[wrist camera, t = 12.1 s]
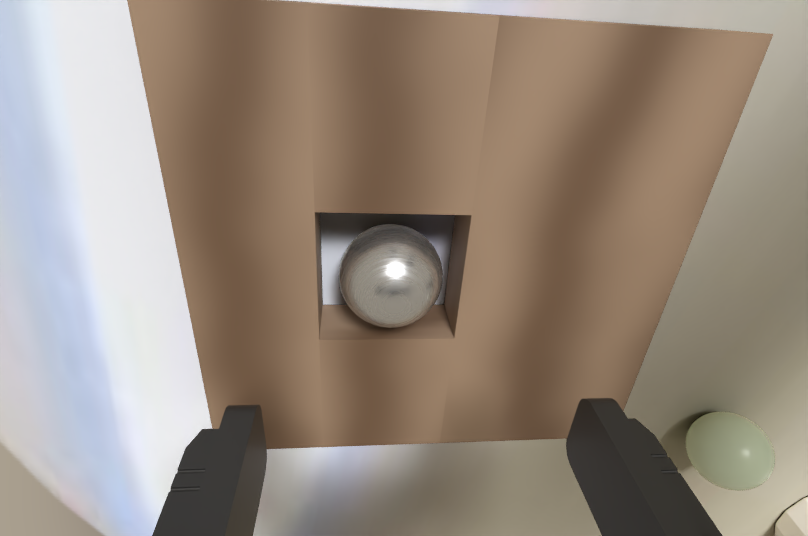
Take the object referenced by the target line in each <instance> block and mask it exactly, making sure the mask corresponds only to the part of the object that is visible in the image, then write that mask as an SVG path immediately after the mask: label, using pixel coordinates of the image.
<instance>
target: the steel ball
mask: <svg viewBox="0 0 808 536" xmlns="http://www.w3.org/2000/svg"><path fill="white" fill-rule="evenodd" d="M442 276H443V273H442V266H441V262H440V258H439V256H438V254H437V252H436V250H435V248H434V247H433V245H432V244H431V243H430V242H429V241H428V239H427V238H426V237H424V236H423V235H422V234H421V233H419V232H417V231H416V230H414V229H412V228H409V227H406V226H403V225H398V224H384V225H378V226H375V227H372V228H370V229H367V230H366V231H364V232H362V233H361V234H360V235H358V236H357V237H356V238H355V239H354V240H353V241H352V242H351V243H350V244H349V246H348V247H347V249H346V251H345V252H344V254H343V257H342V259H341V263H340V268H339V285H340V289H341V292H342V295H343V297H344V300H345V301H346V303H347V305H348V306H349V307H350V309H351V310H352V311H353V312H354V313H355V314H356V315H357V316H358V317H360V318H361V319H363V320H364V321H366V322H368V323H370V324H373V325H376V326H379V327H385V328H396V327H402V326H406V325H409V324H411V323H413V322H415V321H417V320H419V319H420V318H422V317H423V316H424V315H425V314H426V313H427V312H428V311H429V310H430V309H431V308H432V306H433V305H434V304H435V302H436V300H437V298H438V296H439V293H440V290H441V286H442Z"/></svg>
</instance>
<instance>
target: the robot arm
mask: <svg viewBox="0 0 808 536" xmlns="http://www.w3.org/2000/svg"><path fill="white" fill-rule="evenodd" d="M566 449H567V456H568V460H569V463H570V465H571V468H572V470H573V472H574V474H575V477H576V479H577V481H578V483H579V485H580V488H581V490H582V492H583V494H584V496H585V499H586V501H587V503H588V505H589V508H590V510H591V512H592V514H593V516H594V519H595V521H596V523H597V525H598V527H599V530H600V532H601V534H602V536H722V534H721V533H720V532H719V530H718V529H717V527H716V526H715V524H714V523H713V521H712V520H711V518H710V517H709V515H708V514H707V512H706V511H705V509H704V508H703V507H702V505H701V504H700V502H699V501H698V499H697V498H696V496H695V495H694V493H693V492H692V490H691V489H690V487H689V486H688V484H687V483H686V481H685V480H684V478H683V477H682V475H681V474H680V473H678V472H677V468H676V466H675V465H674V464H673V462H672V461H671V459H670V458H668V457H667V453H666V452H665V450H664V449H663V447H662V446H661V444H660V443H659V441H658V440H657V438H656V437H655V435H654V434H653V433H651V432H650V431H649V430H648V429H647V428H646V427H644V426H643V425H642V424H641V423H640V422H639V421H637V420H636V419H628V418H627V417H626V415H625V414H624V412H623V410H622V409H621V407H620V406H619V404H618V403H617V402H616V401H615V400H614V399H613V398H585V399H581V400H580V402H579V404H578V407H577V410H576V413H575V416H574V419H573V422H572V425H571V428H570V431H569V434H568V437H567V442H566ZM266 459H267V449H266V440H265V432H264V425H263V417H262V410H261V406H260V405H228V406H227V407H226V409H225V411H224V414H223V417H222V420H221V424H220V427H219V429H202V430H201V431H200V432H199V434H198V435H197V436H196V437H195V438H194V439H193V440H192V442H191V443H190V444H189V445H188V446H187V447H186V449H185V452H184V454H183V457H182V459H181V462H180V465H179V467H178V472H177V474H176V475H175V478H174V480H173V483H172V486H171V491H170V492H169V493H168V496H167V499H166V501H165V504H164V506H163V509H162V512H161V514H160V517H159V519H158V522H157V525H156V527H155V530H154V533H153V535H152V536H253V532H254V527H255V522H256V517H257V512H258V506H259V501H260V496H261V491H262V486H263V481H264V476H265V470H266Z"/></svg>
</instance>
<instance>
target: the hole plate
mask: <svg viewBox="0 0 808 536" xmlns="http://www.w3.org/2000/svg"><path fill="white" fill-rule="evenodd" d="M127 1H128V6H129V11H130V16H131V21H132V26H133V31H134V36H135V42H136V47H137V52H138V57H139V62H140V67H141V72H142V77H143V82H144V87H145V92H146V97H147V102H148V107H149V112H150V117H151V122H152V127H153V132H154V137H155V142H156V147H157V152H158V157H159V162H160V167H161V172H162V177H163V182H164V187H165V192H166V197H167V202H168V207H169V212H170V217H171V222H172V227H173V232H174V237H175V242H176V247H177V252H178V258H179V263H180V268H181V273H182V278H183V283H184V288H185V293H186V298H187V303H188V308H189V313H190V318H191V323H192V328H193V333H194V338H195V343H196V348H197V353H198V358H199V363H200V368H201V373H202V378H203V383H204V388H205V393H206V398H207V403H208V408H209V413H210V418H211V423H212V428H213V429H219V427H220V424H221V420H222V417H223V414H224V411H225V409H226V407H227V406H228V405H260V406H261V410H262V417H263V425H264V432H265V440H266V449H281V448H309V447H337V446H365V445H393V444H421V443H449V442H477V441H505V440H533V439H561V438H567V437H568V434H569V431H570V428H571V425H572V422H573V419H574V416H575V413H576V410H577V407H578V404H579V402H580V400H581V399H585V398H613V399H614V400H615V401H616V402H617V403H618V404H619V406H620V407H621V409H622V410H624V408H625V405H626V403H627V400H628V398H629V395H630V393H631V390H632V388H633V385H634V383H635V380H636V378H637V375H638V373H639V370H640V368H641V365H642V362H643V360H644V357H645V355H646V352H647V350H648V347H649V345H650V342H651V340H652V337H653V335H654V332H655V330H656V327H657V325H658V322H659V320H660V317H661V315H662V312H663V310H664V307H665V305H666V302H667V300H668V297H669V295H670V292H671V290H672V287H673V285H674V282H675V280H676V277H677V275H678V272H679V270H680V267H681V265H682V262H683V260H684V257H685V255H686V252H687V250H688V247H689V245H690V242H691V240H692V237H693V234H694V232H695V229H696V227H697V224H698V222H699V219H700V217H701V214H702V212H703V209H704V207H705V204H706V202H707V199H708V197H709V194H710V192H711V189H712V187H713V184H714V182H715V179H716V177H717V174H718V172H719V169H720V167H721V164H722V162H723V159H724V157H725V154H726V152H727V149H728V147H729V144H730V142H731V139H732V137H733V134H734V132H735V129H736V127H737V124H738V122H739V119H740V117H741V114H742V111H743V109H744V106H745V104H746V101H747V99H748V96H749V94H750V91H751V89H752V86H753V84H754V81H755V79H756V76H757V74H758V71H759V69H760V66H761V64H762V61H763V59H764V56H765V54H766V51H767V49H768V46H769V44H770V41H771V39H772V36H773V34H765V33H753V32H740V31H728V30H715V29H700V28H685V27H670V26H655V25H640V24H625V23H610V22H595V21H581V20H566V19H551V18H536V17H521V16H506V15H491V14H476V13H461V12H446V11H431V10H416V9H401V8H386V7H371V6H356V5H341V4H326V3H311V2H296V1H281V0H127ZM320 212H326V213H380V214H434V215H455V220H454V229H453V237H452V245H451V253H450V261H449V270H448V278H447V286H446V294H445V303H444V305H433V306H432V308H431V309H430V310H429V311H428V312H427V313H426V314H425V315H424V316H423V317H422V318H420V319H419V320H417V321H415V322H413V323H411V324H409V325H406V326H402V327H396V328H385V327H379V326H376V325H373V324H370V323H368V322H366V321H364V320H363V319H361V318H360V317H358V316H357V315H356V314H355V313H354V312H353V311H352V310H351V309H350V307H349V306H348V305H323V298H322V265H321V232H320Z"/></svg>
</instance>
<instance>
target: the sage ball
mask: <svg viewBox="0 0 808 536" xmlns="http://www.w3.org/2000/svg"><path fill="white" fill-rule="evenodd" d="M686 451H687V455H688V457H689V459H690V462H691V463H692V465H693V466H694V468H695V469H696V470H697V471H698V472H699V473H700V474H701V475H702V476H703V477H704V478H705V479H707V480H708V481H710V482H711V483H713V484H715V485H717V486H719V487H722V488H725V489H729V490H749V489H752V488H755V487H758V486H759V485H761V484H762V483H764V482H765V481H766V480H767V479H768V478H769V476H770V475H771V473H772V471H773V468H774V464H775V454H774V450H773V446H772V444H771V442H770V440H769V438H768V437H767V435H766V434H765V433H764V432H763V430H762V429H761V428H760V427H759V426H757V425H756V424H755V423H753V422H752V421H751V420H749V419H747V418H745V417H743V416H741V415H738V414H734V413H730V412H712V413H708V414H706V415H703V416H701V417H700V418H698V419H697V420H696V421H695V422H694V423H693V424H692V425H691V426H690V428H689V430H688V432H687V436H686Z"/></svg>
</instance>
